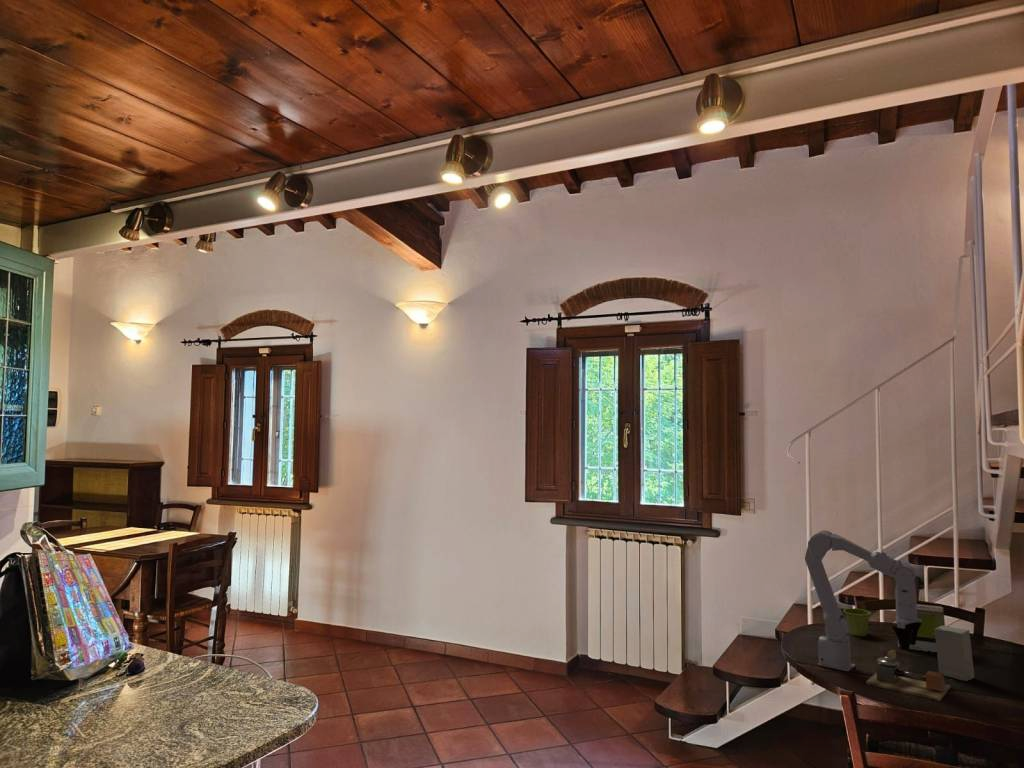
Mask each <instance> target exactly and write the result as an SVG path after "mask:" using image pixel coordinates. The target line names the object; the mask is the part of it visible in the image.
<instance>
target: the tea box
mask: <svg viewBox="0 0 1024 768" xmlns="http://www.w3.org/2000/svg"><path fill="white" fill-rule="evenodd" d="M944 612H945V611H944V606H941V605H940V606H939V605H930V604H929V605H928V604H920V603H919V604H918V603H917V618H918V619H922V622H921V626H920V628H919V630H918V633H917V639H916V644H915V645H910V648H909V650H913V649H914V651H920V650H921V652H928V651H930V653H935V652H937V646H936V636H935V628H937V627H940V626H946V624H945V622H946V621H945V613H944ZM895 620H896V619H895ZM896 622H897V620H896ZM897 647H898V648H899V647H900V645H899V641H898V640H897Z"/></svg>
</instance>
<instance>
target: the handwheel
mask: <svg viewBox="0 0 1024 768" xmlns="http://www.w3.org/2000/svg"><path fill="white" fill-rule="evenodd" d="M896 651H897V650H896V649H891V650H889V651H887V653H886V654H887V655H885V656H884V657H881V656H880V657H877V659H876V662H877V664H878V663H879V664H882V665H885V666H899V663H900V661H899V660H897V659H896V658H897V652H896Z"/></svg>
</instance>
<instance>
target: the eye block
mask: <svg viewBox="0 0 1024 768" xmlns="http://www.w3.org/2000/svg"><path fill="white" fill-rule="evenodd" d="M875 669H876V670H875V671H876V672H875V673H877V680H879V681H884V682H888V683H892V684H895V683H896V682H897V681H898V680H900V679H901V676H896V669H897V670H902V669H901V662H899V666H885V665H882V664H879V663H878V662H877V664H875Z"/></svg>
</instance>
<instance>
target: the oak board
mask: <svg viewBox="0 0 1024 768" xmlns="http://www.w3.org/2000/svg"><path fill="white" fill-rule="evenodd" d="M866 685H869V686H874V687H876V688H877V687H879V688H882V689H886V690H890V691H896V692H899V693H904V694H907V695H913V696H916V697H921V698H925V699H929V700H933V699H935V700H934V701H937V700H938V702H940V701H941V700H942V699H943V698H944V697H945V696H946V694H947V693H948V692H949V691H948V690H950V689H951V684H946V683H945V688H944V689H943V691H938V690H934V689H929V688H926V682H923V681H919V680H914V679H910V678H905V677H901V679H900V680H898V681H897V682H896V683H895V684H892V683H888V682H884V681H879V680H877V673H876V672H875V673H874V674H873V675H872V676H871V677H869V679H867V680H866Z"/></svg>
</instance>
